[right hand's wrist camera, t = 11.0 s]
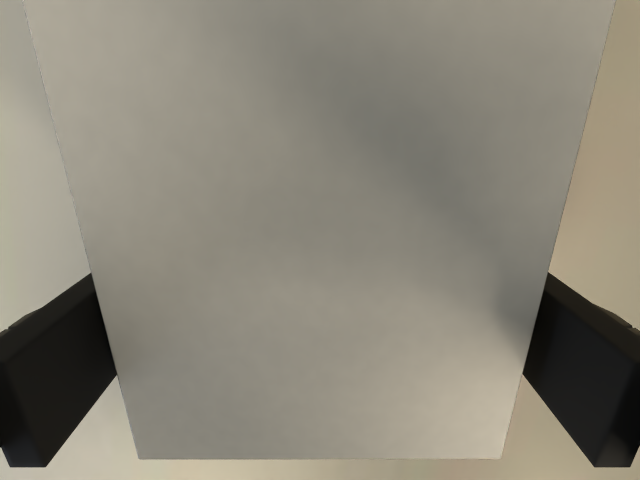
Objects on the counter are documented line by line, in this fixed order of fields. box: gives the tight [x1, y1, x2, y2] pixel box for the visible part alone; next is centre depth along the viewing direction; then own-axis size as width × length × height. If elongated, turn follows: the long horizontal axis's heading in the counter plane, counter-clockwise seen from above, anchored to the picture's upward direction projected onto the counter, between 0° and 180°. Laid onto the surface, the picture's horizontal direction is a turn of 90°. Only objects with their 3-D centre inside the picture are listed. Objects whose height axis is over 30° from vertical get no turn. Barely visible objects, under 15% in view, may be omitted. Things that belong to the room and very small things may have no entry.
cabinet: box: [22, 0, 616, 459], centre depth 11 cm, size 17×10×9 cm, turn 0°
